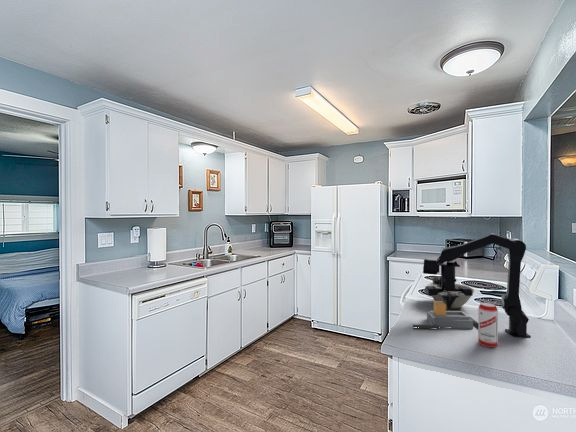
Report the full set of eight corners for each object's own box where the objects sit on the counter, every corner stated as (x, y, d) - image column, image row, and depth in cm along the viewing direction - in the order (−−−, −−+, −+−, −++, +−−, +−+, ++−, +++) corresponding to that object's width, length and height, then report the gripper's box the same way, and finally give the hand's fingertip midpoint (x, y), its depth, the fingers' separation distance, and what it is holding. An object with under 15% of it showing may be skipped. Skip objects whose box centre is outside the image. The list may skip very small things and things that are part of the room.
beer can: (479, 339, 121) (479, 300, 120) (498, 344, 117) (498, 303, 116) (477, 345, 116) (477, 304, 115) (496, 350, 112) (497, 308, 111)
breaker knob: (446, 316, 135) (446, 303, 135) (436, 316, 136) (436, 303, 135) (442, 313, 139) (442, 301, 139) (433, 313, 140) (433, 300, 139)
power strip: (473, 328, 131) (473, 318, 131) (434, 327, 133) (434, 317, 133) (462, 319, 141) (462, 310, 141) (427, 318, 143) (427, 309, 143)
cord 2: (482, 329, 130) (482, 325, 130) (478, 328, 131) (478, 325, 131) (470, 319, 141) (470, 316, 141) (466, 319, 141) (467, 316, 141)
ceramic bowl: (470, 302, 165) (470, 284, 165) (477, 316, 144) (477, 296, 144) (426, 297, 175) (426, 280, 174) (426, 310, 154) (426, 291, 153)
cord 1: (439, 329, 131) (439, 326, 130) (413, 329, 132) (413, 325, 132) (438, 328, 132) (438, 324, 132) (412, 327, 133) (412, 324, 133)
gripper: (462, 271, 143) (462, 303, 144) (421, 271, 145) (421, 303, 146) (473, 277, 132) (473, 312, 133) (428, 277, 134) (429, 311, 135)
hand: (448, 309), depth 137 cm, fingers closed
